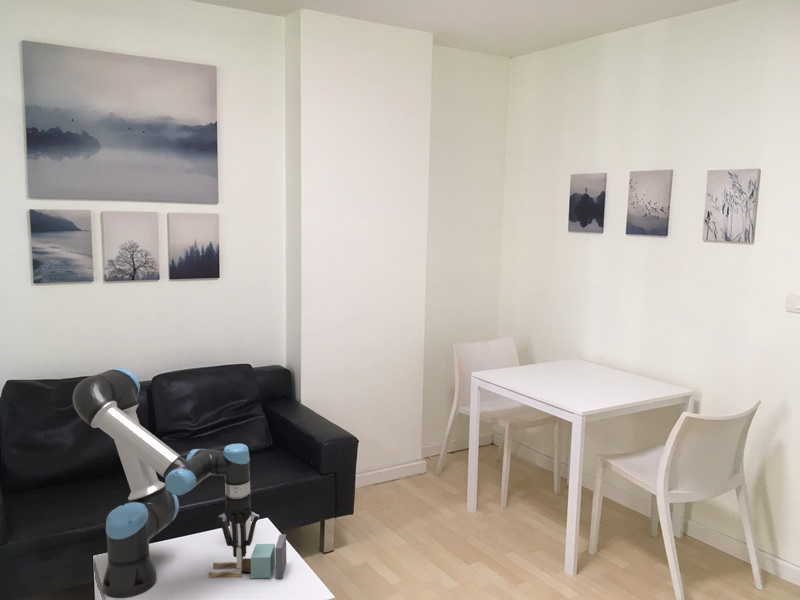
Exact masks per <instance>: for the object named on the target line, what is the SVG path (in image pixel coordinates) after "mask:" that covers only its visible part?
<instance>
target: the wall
mask: <svg viewBox="0 0 800 600" xmlns="http://www.w3.org/2000/svg"><path fill="white" fill-rule="evenodd" d="M286 567H287V534H279V536H278V538H277V542H276V544H275V580H283V579H284V574H285V572H286V571H285V570H286Z"/></svg>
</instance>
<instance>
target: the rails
mask: <svg viewBox="0 0 800 600" xmlns="http://www.w3.org/2000/svg"><path fill="white" fill-rule="evenodd" d="M212 565H213V566H212V567H213V569H238V568H237V561H233V562H232V561H231V562H229V561H227V562H223V561H222V562H218V561H217V562H213V563H212ZM207 575H208V579H211V578H212V579H214V578H216V579H217V578H220V579H221V578H222V579H223V578H224V579H225V578H242V570H240V571H239V570H238V571H208V574H207Z"/></svg>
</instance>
